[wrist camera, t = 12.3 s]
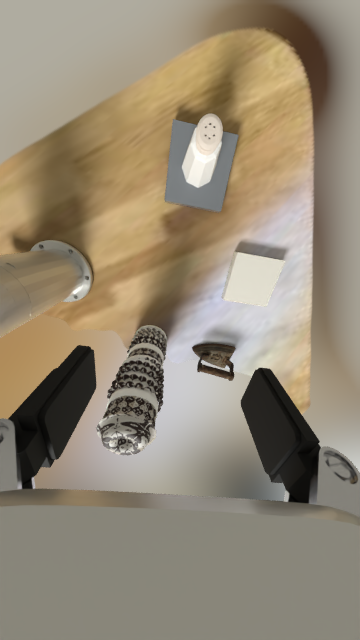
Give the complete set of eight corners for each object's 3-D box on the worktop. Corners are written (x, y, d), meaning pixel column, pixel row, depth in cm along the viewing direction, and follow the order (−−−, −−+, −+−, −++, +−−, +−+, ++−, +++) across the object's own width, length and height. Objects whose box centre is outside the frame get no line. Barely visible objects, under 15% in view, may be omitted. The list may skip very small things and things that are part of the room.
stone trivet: (221, 297, 40) (223, 300, 38) (234, 251, 35) (237, 252, 34) (262, 303, 41) (266, 306, 39) (280, 259, 36) (285, 260, 34)
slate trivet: (165, 202, 32) (164, 200, 30) (173, 126, 27) (173, 119, 25) (218, 212, 32) (220, 211, 31) (234, 141, 28) (238, 134, 26)
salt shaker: (181, 144, 27) (183, 92, 17) (216, 144, 27) (239, 92, 17) (181, 188, 29) (183, 165, 19) (214, 188, 29) (232, 164, 19)
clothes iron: (226, 365, 50) (225, 394, 41) (190, 350, 51) (182, 375, 42) (237, 348, 46) (239, 375, 38) (198, 332, 47) (191, 355, 38)
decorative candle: (172, 328, 43) (167, 430, 21) (163, 356, 47) (150, 467, 25) (137, 319, 42) (90, 416, 20) (130, 348, 46) (85, 457, 24)
